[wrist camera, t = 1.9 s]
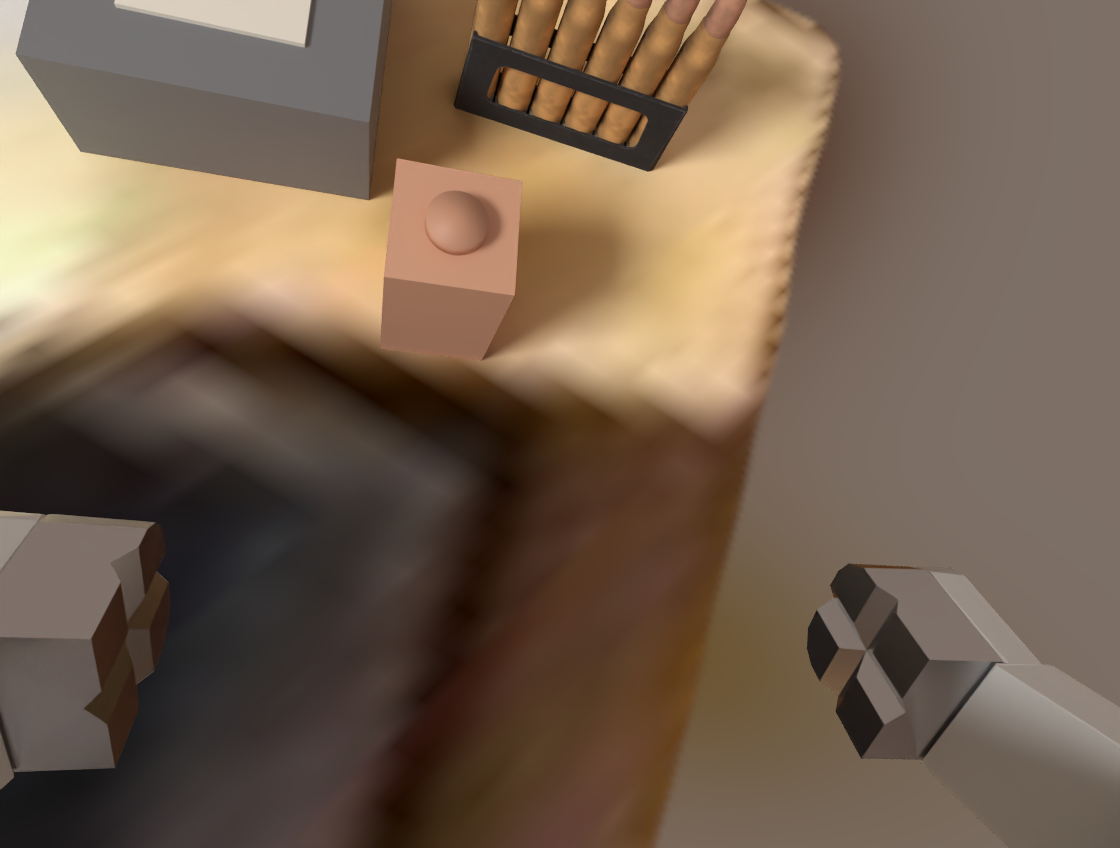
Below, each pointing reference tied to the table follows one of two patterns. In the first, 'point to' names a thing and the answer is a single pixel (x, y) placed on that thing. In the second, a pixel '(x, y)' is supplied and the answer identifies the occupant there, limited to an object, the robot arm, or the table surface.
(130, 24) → the base block
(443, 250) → the block
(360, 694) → the table surface
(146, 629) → the robot arm
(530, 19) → the ammunition clip
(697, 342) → the table surface
